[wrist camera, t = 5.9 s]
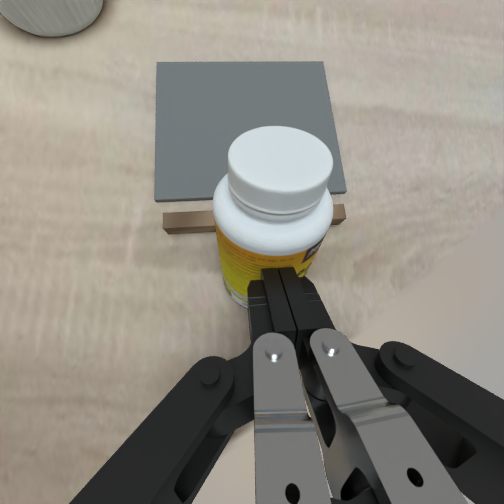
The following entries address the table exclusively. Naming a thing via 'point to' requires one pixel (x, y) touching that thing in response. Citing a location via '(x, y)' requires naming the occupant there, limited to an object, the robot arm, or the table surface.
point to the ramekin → (51, 15)
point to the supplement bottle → (271, 205)
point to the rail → (206, 223)
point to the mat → (232, 118)
